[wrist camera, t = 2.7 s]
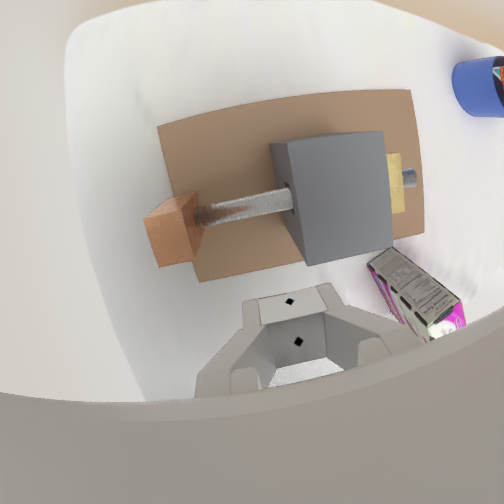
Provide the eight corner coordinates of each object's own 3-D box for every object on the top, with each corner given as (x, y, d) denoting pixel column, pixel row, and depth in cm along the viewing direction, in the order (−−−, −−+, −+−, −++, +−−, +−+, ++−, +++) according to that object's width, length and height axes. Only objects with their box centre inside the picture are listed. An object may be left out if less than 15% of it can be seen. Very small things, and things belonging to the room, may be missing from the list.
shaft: (399, 190, 29) (442, 207, 21) (177, 235, 29) (158, 267, 22) (395, 155, 27) (440, 162, 20) (167, 198, 28) (143, 219, 21)
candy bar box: (415, 295, 41) (473, 357, 26) (391, 313, 42) (443, 382, 27) (392, 242, 38) (463, 299, 22) (364, 263, 38) (426, 330, 23)
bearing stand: (420, 230, 37) (477, 266, 25) (200, 279, 38) (185, 340, 26) (406, 90, 30) (470, 79, 18) (159, 127, 31) (116, 120, 19)
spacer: (379, 199, 30) (404, 211, 25) (360, 202, 30) (383, 215, 25) (373, 149, 28) (399, 152, 23) (354, 152, 28) (377, 155, 23)
